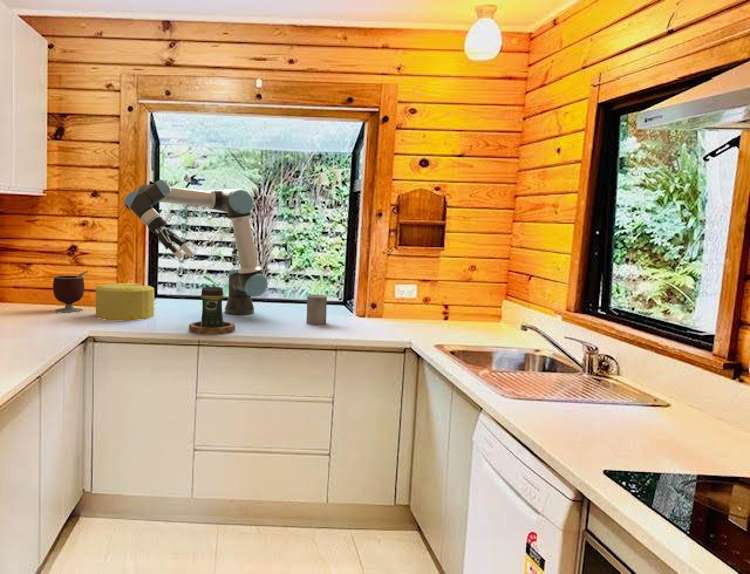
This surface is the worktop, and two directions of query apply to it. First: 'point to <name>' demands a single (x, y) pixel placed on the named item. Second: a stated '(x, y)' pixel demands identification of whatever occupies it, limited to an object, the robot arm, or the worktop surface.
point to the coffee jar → (212, 307)
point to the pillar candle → (316, 309)
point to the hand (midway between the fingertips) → (187, 256)
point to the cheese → (124, 301)
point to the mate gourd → (68, 291)
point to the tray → (226, 328)
